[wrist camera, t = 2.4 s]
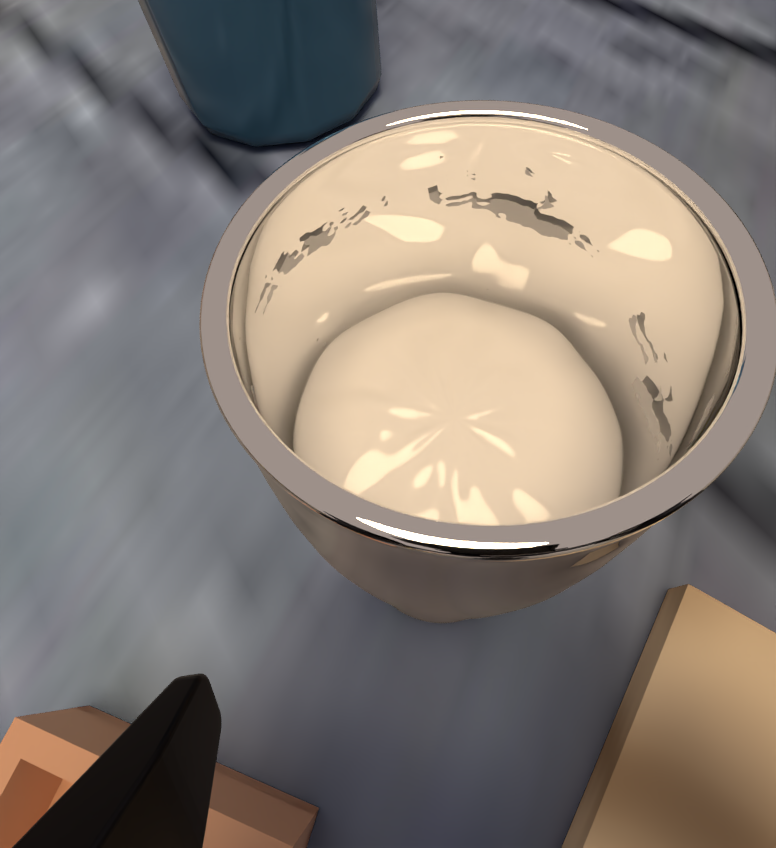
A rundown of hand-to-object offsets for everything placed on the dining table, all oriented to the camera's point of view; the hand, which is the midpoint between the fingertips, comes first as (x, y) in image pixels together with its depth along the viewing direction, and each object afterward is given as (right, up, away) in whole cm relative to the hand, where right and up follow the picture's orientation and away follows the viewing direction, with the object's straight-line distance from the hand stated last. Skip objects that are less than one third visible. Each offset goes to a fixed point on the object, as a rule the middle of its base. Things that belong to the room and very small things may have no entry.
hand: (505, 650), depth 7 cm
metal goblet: (0, -1, +12) cm, 12 cm away
